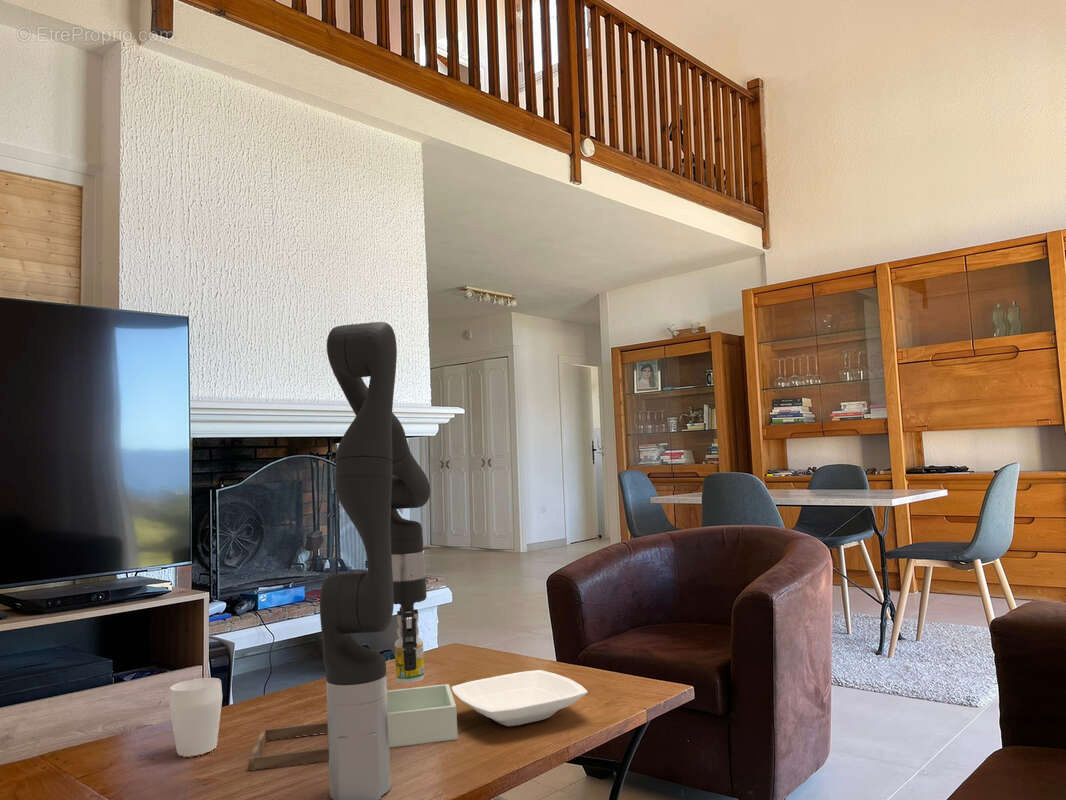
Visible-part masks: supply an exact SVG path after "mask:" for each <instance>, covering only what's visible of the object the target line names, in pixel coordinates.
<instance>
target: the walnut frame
mask: <svg viewBox="0 0 1066 800" xmlns="http://www.w3.org/2000/svg"><path fill="white" fill-rule="evenodd" d="M320 733H328V721H324V722H315V723H306V724H305V723H304V724H299V725H290V726H281V727H272V728H263V729H261V731H260V733H259V736H258V738H257V740H256V742H255V745H254V747H253V749H252V750H251V753H250V755H249V758H248V771H249V770H252V769H253V771H255V770H254V769H261V770H264V769H263V768H269V769H276V768H275V767H277V768H284V767H291V766H290V765H293V766H299V765H298V764H301V765H307V764H306V763H309V764H316V763H315V762H317V763H323V762H324V761H325V762H329V752H328V747H323V748H321V747H319V748H314V749H304V750H298V751H297V750H296V751H290V752H289V751H287V752H283V753H282V752H281V753H273V754H272V753H271V754H263V755H262V753H261V751H262V752H263V750H264V748H263V747H265V746H266V743H267V741H266V740H273V739H280V738H281V740H283V739H282V738H288V737H296V736H303V735H313V734H320ZM273 741H274V740H273ZM265 742H266V743H265ZM264 745H265V746H264ZM262 749H263V750H262ZM260 754H261V755H260ZM304 763H305V764H304Z"/></svg>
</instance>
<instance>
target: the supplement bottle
mask: <svg viewBox="0 0 1066 800" xmlns="http://www.w3.org/2000/svg"><path fill="white" fill-rule="evenodd" d="M419 628H420V627H418V636H417V637H416V643H417V647H416V669H415V670H411V671H406V670H405V669H404V651H403V649H402V644H403V639H402V638H400V633H399V627H398V628H397V633H396V634H397V636H398V638H397V640H396V641H395V642H394V657H395V662H394V663H395V679H396V682H399V683H403V684H404V683H406V684H408V683H409V684H411V683H416V682H419V681H422V680H423V679H424V678H425V657H424V656H425V655H424V641H423V639H422V638H421V637H419V635H420V631H419ZM405 641H406V642H412V641H413V638H412V637H408V638H405Z"/></svg>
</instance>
